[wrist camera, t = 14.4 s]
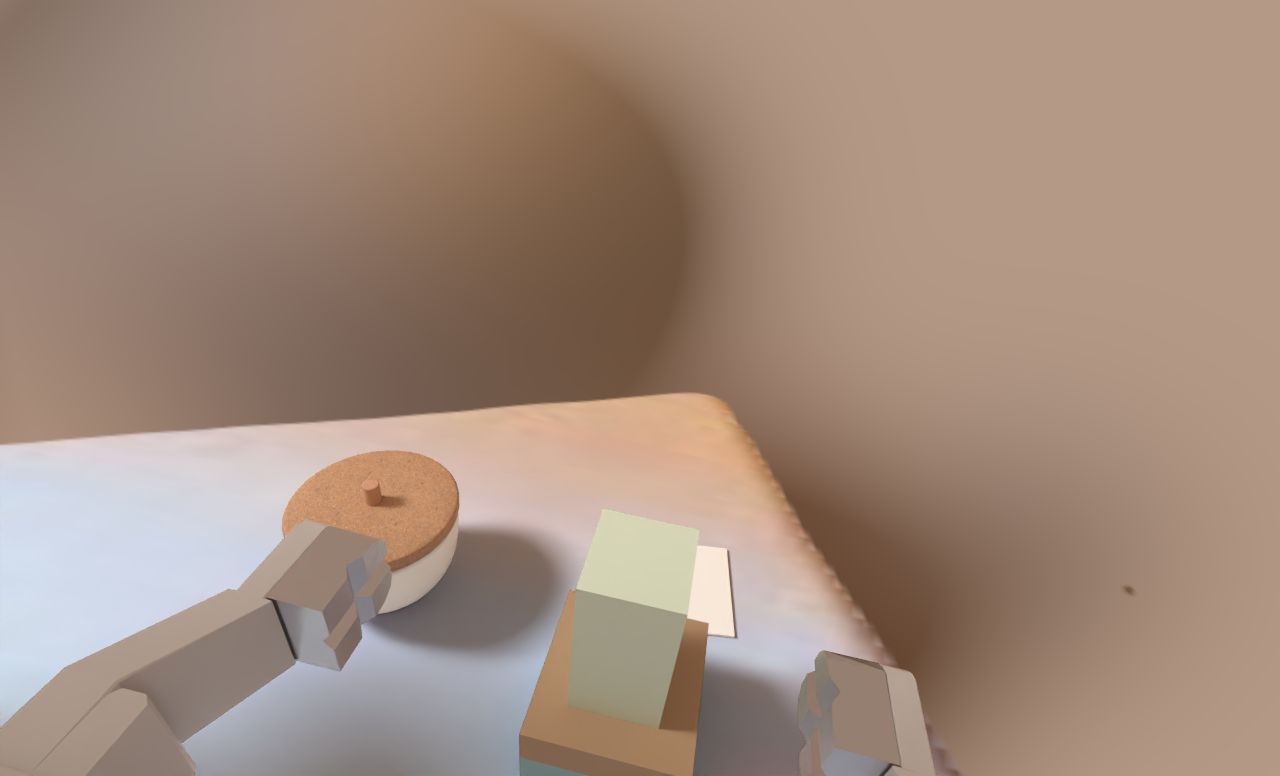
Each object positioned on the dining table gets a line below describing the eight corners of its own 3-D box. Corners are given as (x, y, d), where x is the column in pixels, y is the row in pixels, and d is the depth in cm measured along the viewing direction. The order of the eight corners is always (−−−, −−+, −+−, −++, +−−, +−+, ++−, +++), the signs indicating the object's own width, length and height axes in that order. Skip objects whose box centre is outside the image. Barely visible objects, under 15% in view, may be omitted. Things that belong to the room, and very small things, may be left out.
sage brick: (567, 705, 31) (576, 588, 26) (590, 624, 35) (603, 508, 30) (658, 729, 31) (687, 614, 25) (671, 644, 35) (699, 530, 29)
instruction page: (595, 622, 42) (596, 619, 42) (606, 536, 48) (606, 533, 48) (734, 637, 42) (734, 635, 42) (726, 550, 49) (726, 547, 48)
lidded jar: (332, 675, 37) (300, 580, 31) (289, 560, 43) (257, 465, 38) (490, 594, 43) (485, 503, 38) (431, 503, 49) (420, 415, 44)
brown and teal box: (519, 781, 33) (519, 734, 30) (566, 640, 40) (569, 590, 37) (676, 824, 32) (692, 780, 29) (694, 671, 40) (708, 623, 36)
